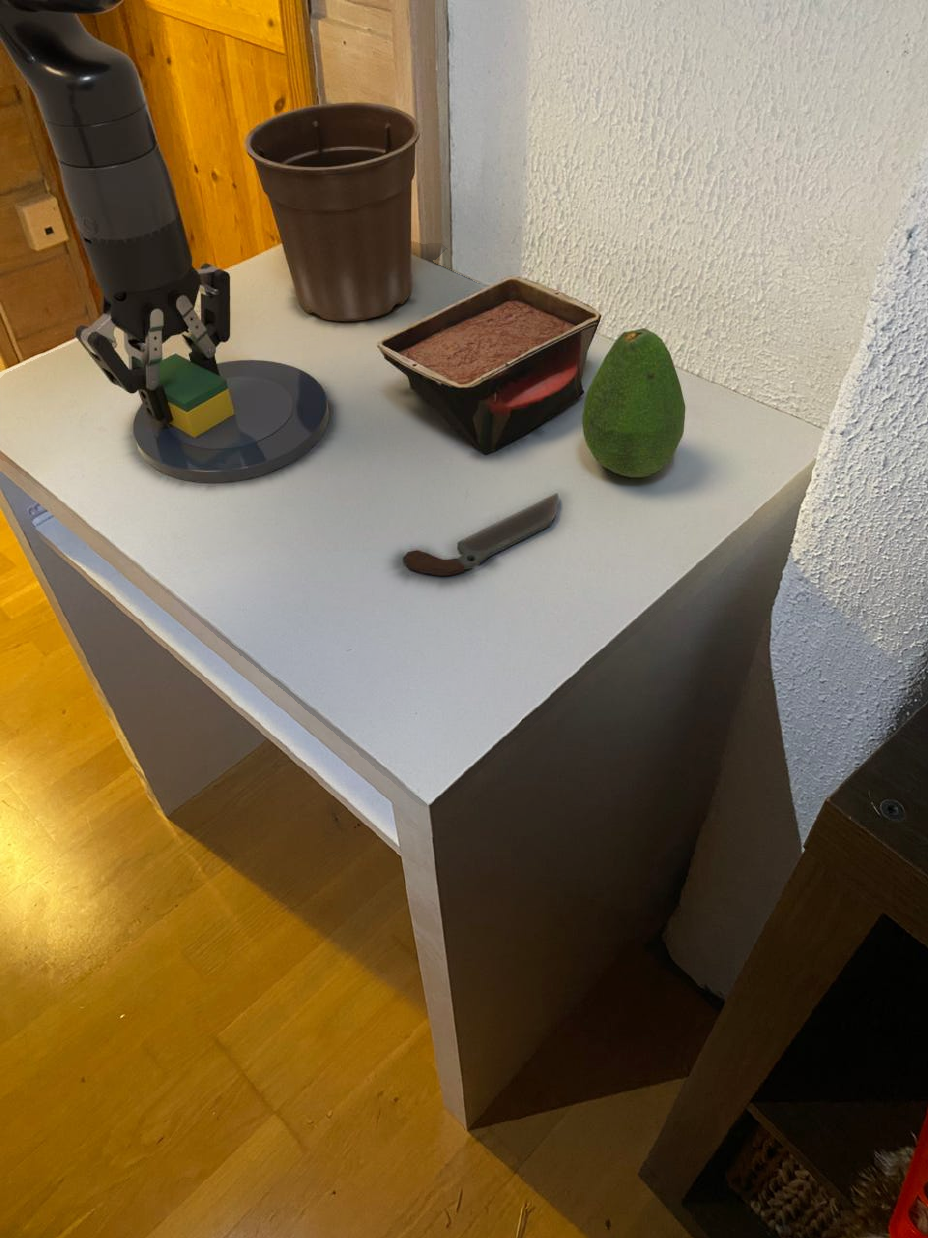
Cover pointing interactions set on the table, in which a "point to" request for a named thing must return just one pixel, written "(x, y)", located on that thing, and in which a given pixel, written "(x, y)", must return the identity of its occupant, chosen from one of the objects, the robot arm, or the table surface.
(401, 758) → the table surface
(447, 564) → the knife
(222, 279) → the robot arm
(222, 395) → the sponge
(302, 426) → the plate
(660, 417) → the avocado
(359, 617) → the table surface
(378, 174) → the plant pot
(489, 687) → the table surface
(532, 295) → the baking dish
